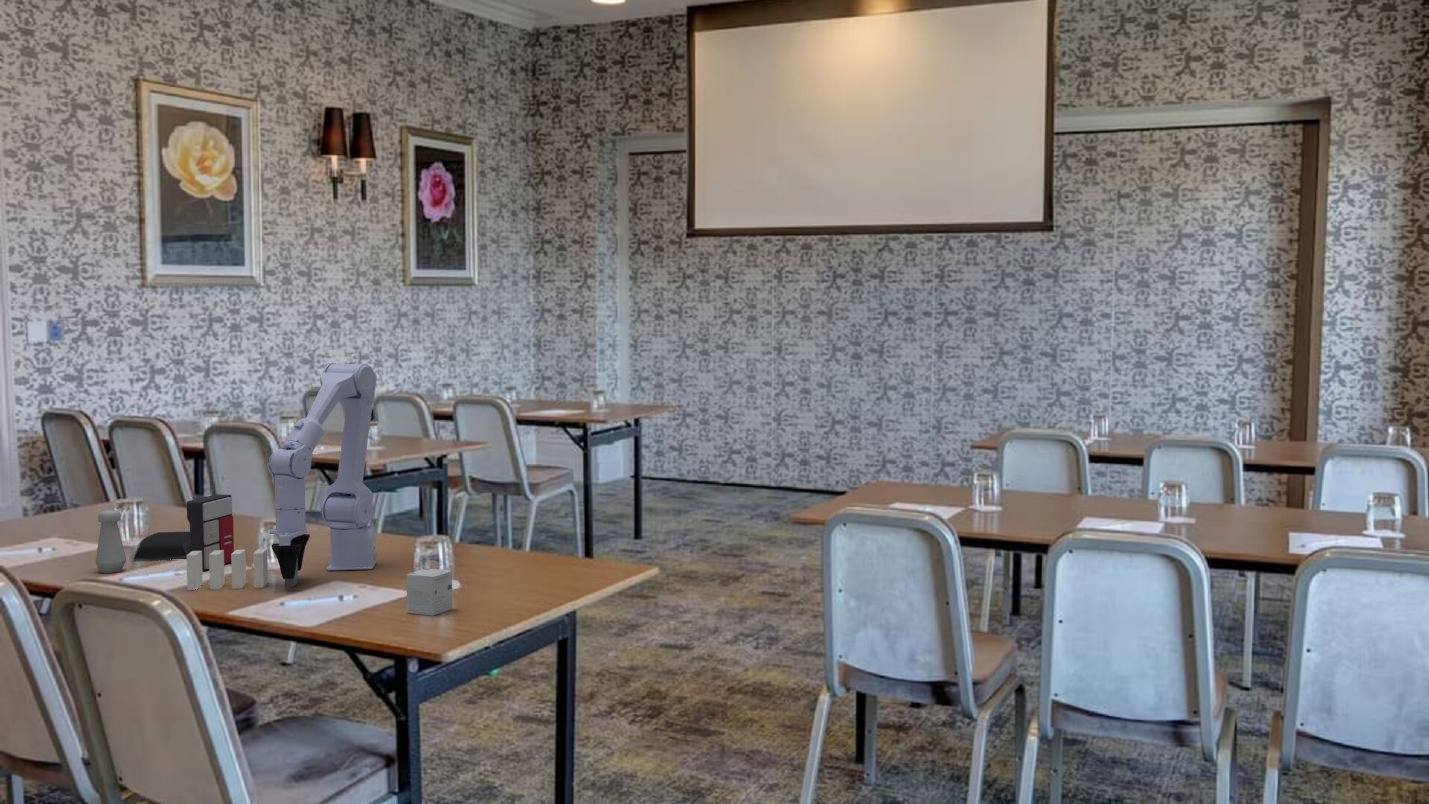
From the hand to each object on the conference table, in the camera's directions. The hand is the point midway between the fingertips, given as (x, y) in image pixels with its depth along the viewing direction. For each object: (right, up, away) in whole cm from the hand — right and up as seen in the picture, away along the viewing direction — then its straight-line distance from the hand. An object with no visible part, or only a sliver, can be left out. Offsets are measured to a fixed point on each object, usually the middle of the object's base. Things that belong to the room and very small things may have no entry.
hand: (291, 574), depth 245 cm
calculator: (-23, -1, +17) cm, 29 cm away
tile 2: (-6, -2, -1) cm, 6 cm away
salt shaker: (-42, -1, +12) cm, 44 cm away
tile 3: (-10, -2, -2) cm, 10 cm away
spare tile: (0, -2, 0) cm, 2 cm away
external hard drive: (-39, 0, +32) cm, 51 cm away
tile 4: (-14, -2, -2) cm, 15 cm away
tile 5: (-18, -2, -3) cm, 19 cm away
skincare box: (+33, -4, -21) cm, 39 cm away
